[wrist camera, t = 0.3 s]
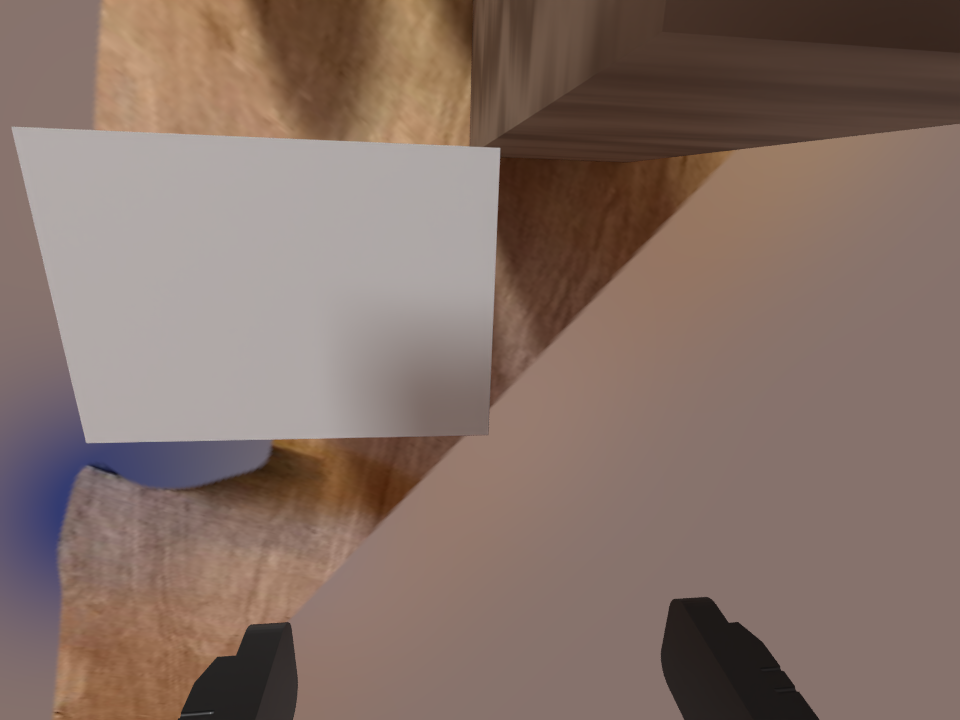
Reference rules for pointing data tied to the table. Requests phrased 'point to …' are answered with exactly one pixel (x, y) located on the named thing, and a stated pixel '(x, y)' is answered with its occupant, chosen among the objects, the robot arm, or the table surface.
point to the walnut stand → (705, 74)
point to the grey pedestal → (267, 283)
